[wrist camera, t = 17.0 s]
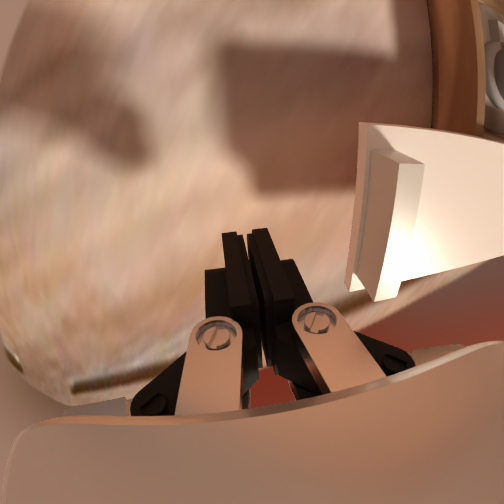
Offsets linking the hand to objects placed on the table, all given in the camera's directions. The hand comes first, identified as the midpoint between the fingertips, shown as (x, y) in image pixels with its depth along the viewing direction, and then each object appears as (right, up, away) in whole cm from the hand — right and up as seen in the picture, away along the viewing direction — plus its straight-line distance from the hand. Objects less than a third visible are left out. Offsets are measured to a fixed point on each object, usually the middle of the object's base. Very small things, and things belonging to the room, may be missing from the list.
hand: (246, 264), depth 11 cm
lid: (+12, +3, +2) cm, 12 cm away
